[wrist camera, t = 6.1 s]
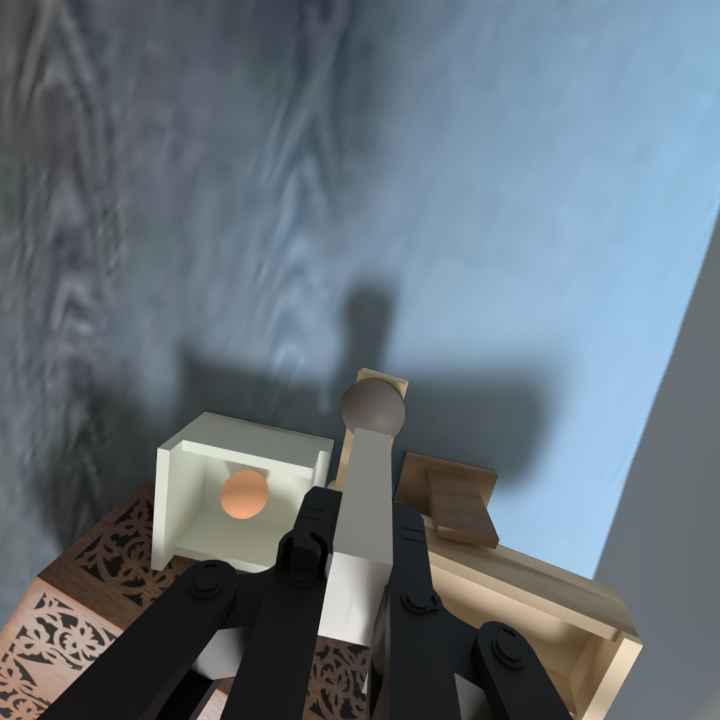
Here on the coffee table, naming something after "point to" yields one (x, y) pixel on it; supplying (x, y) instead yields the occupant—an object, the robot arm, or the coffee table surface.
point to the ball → (244, 494)
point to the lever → (513, 581)
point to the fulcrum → (450, 497)
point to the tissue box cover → (119, 610)
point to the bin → (205, 481)
